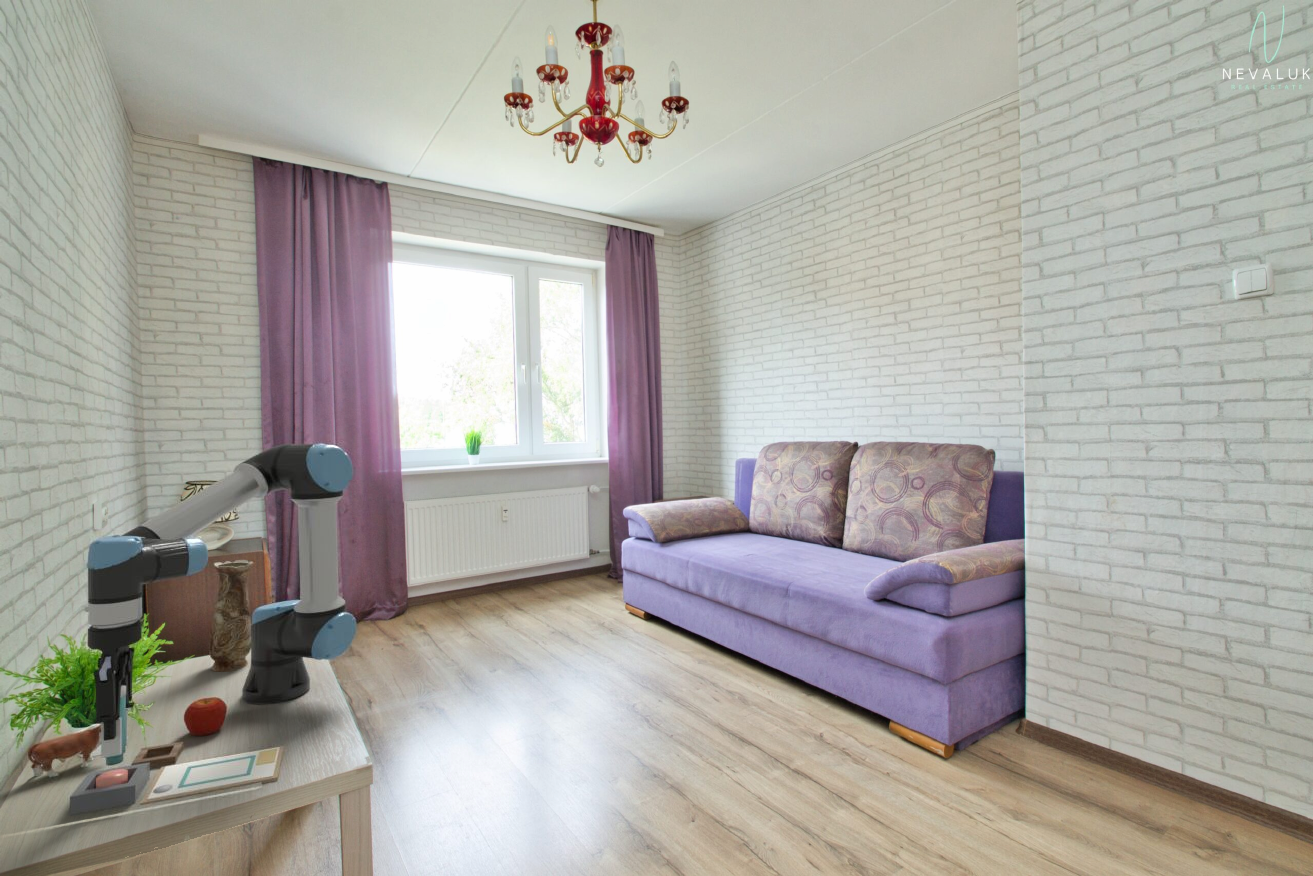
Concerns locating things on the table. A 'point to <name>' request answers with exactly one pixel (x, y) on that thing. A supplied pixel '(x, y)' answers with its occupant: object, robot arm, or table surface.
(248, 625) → the vase
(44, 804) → the table surface
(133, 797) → the button housing
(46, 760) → the bull figurine
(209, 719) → the apple
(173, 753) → the marker holder
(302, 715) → the table surface
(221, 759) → the colouring sheet
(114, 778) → the button
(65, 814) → the table surface
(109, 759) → the marker
